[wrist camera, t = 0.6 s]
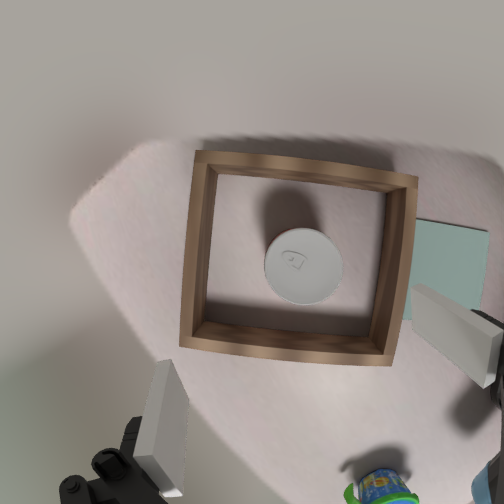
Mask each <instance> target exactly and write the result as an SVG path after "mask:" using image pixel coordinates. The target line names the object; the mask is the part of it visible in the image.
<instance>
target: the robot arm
mask: <svg viewBox="0 0 504 504" xmlns="http://www.w3.org/2000/svg"><path fill="white" fill-rule="evenodd" d="M410 291H411V309H412V330H413V331H414V332H415V333H417V334H418V335H419V336H420V337H422V338H423V339H424V340H425V341H427V342H428V343H429V344H430V345H431V346H433V347H434V348H435V349H436V350H438V351H439V352H440V353H441V354H442V355H444V356H445V357H446V358H447V359H448V360H450V361H451V362H452V363H453V364H454V365H456V366H457V367H458V368H459V369H460V370H462V371H463V372H464V373H465V374H466V375H467V376H469V377H470V378H471V379H472V380H473V381H475V382H476V383H477V384H478V385H479V386H480V387H482V388H483V389H484V388H486V387H487V386H489V385H490V384H491V398H492V401H493V403H494V404H495V405H496V406H497V407H498V408H499V409H500V410H502V429H501V451H500V452H499V453H498V454H497V455H496V456H495V457H494V458H493V459H492V460H490V461H489V462H488V463H487V465H486V466H485V467H484V469H483V470H482V471H481V472H480V473H479V474H478V475H477V476H476V477H475V478H474V480H473V482H472V486H471V489H472V490H471V491H472V496H473V499H474V502H475V504H504V324H503V323H502V322H500V321H498V320H496V319H494V318H493V317H491V316H488V314H486V313H484V312H482V311H479V310H475V309H471V310H469V309H467V308H465V307H463V306H462V305H460V304H458V303H456V302H455V301H453V300H451V299H449V298H447V297H446V296H444V295H442V294H440V293H438V292H437V291H435V290H433V289H431V288H429V287H428V286H426V285H424V284H422V283H420V284H417V285H415V286H412V287H410ZM188 409H189V398H188V395H187V393H186V391H185V389H184V387H183V385H182V382H181V380H180V378H179V376H178V374H177V371H176V369H175V367H174V364H173V362H172V360H171V359H168V360H164V361H159V362H157V365H156V368H155V372H154V376H153V380H152V383H151V387H150V390H149V394H148V398H147V402H146V405H145V409H144V413H143V416H140V417H133V418H132V419H131V420H130V422H129V423H128V424H127V426H126V429H125V432H124V434H125V435H124V436H123V439H122V440H123V441H122V443H121V446H120V450H118V449H115V448H107V449H104V450H102V451H100V452H98V453H97V454H96V455H95V456H94V458H93V459H92V463H91V465H92V468H93V470H94V471H95V472H96V473H97V474H98V475H99V477H100V478H99V479H95V480H91V481H86V480H85V479H84V478H83V477H82V476H80V475H72V476H69V477H67V478H65V479H64V480H63V481H62V483H61V484H60V487H59V493H60V500H61V504H168V503H167V502H166V501H165V500H164V499H163V498H162V497H161V496H160V495H159V491H160V492H161V493H162V494H163V495H164V496H165V497H174V496H183V485H184V466H185V450H186V435H187V422H188Z"/></svg>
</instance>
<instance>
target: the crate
mask: <svg viewBox="0 0 504 504" xmlns="http://www.w3.org/2000/svg"><path fill="white" fill-rule="evenodd" d="M218 174H228V175H241V176H253V177H264V178H274V179H284V180H294V181H302V182H311V183H319V184H327V185H335V186H342V187H349V188H356V189H363V190H370V191H376V192H383V193H387V204H386V216H385V227H384V237H383V246H382V255H381V263H380V271H379V278H378V285H377V291H376V297H375V304H374V309H373V315H372V321H371V326H370V331H369V336H368V337H359V336H344V335H330V334H317V333H305V332H294V331H284V330H274V329H265V328H256V327H248V326H240V325H232V324H224V323H217V322H209V321H204V320H205V306H206V293H207V280H208V268H209V257H210V246H211V235H212V225H213V215H214V205H215V196H216V187H217V178H218ZM417 196H418V177H417V176H412V175H407V174H402V173H397V172H391V171H386V170H380V169H374V168H368V167H362V166H356V165H349V164H342V163H335V162H328V161H320V160H313V159H304V158H295V157H286V156H276V155H265V154H254V153H240V152H225V151H207V150H196V152H195V159H194V167H193V176H192V184H191V193H190V202H189V212H188V222H187V232H186V243H185V255H184V268H183V282H182V298H181V315H180V337H179V347H185V348H191V349H197V350H203V351H210V352H217V353H224V354H231V355H238V356H246V357H255V358H263V359H273V360H283V361H293V362H305V363H319V364H335V365H356V366H392V363H393V359H394V354H395V350H396V346H397V341H398V337H399V332H400V327H401V322H402V317H403V312H404V306H405V301H406V295H407V289H408V282H409V276H410V269H411V261H412V253H413V244H414V235H415V224H416V211H417Z"/></svg>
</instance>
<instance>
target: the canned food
mask: <svg viewBox="0 0 504 504" xmlns="http://www.w3.org/2000/svg"><path fill="white" fill-rule="evenodd" d="M264 271H265V276H266V278H267V281H268V283H269V285H270V286H271V288H272V289H273V291H274V292H275V293H276V294H277V295H278V296H279V297H281V298H282V299H284V300H285V301H287V302H290V303H292V304H296V305H305V306H308V305H314V304H317V303H320V302H322V301H324V300H326V299H327V298H329V297H330V296H331V295H332V294H333V293H334V292H335V291H336V289H337V288H338V286H339V284H340V282H341V280H342V275H343V260H342V256H341V254H340V251H339V249H338V248H337V246H336V245H335V243H334V242H333V241H332V240H331V239H330V238H329V237H328V236H326V235H325V234H323V233H321V232H319V231H317V230H314V229H310V228H293V229H288V230H285V231H283V232H281V233H279V234H278V235H277V236H276V237H275V238H274V239H273V240H272V242H271V243H270V245H269V247H268V249H267V251H266V255H265V259H264Z"/></svg>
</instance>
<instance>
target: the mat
mask: <svg viewBox="0 0 504 504" xmlns="http://www.w3.org/2000/svg"><path fill="white" fill-rule="evenodd" d="M489 235H490V233H489V232H484V231H479V230H474V229H469V228H463V227H458V226H452V225H447V224H441V223H435V222H429V221H423V220H417V219H416V224H415V235H414V244H413V253H412V261H411V269H410V276H409V282H408V289H407V295H406V301H405V306H404V312H403V317H402V320H412V309H411V291H410V287H412V286H415V285H417V284H420V283H422V284H424V285H426V286H428V287H429V288H431V289H433V290H435V291H437V292H438V293H440V294H442V295H444V296H446V297H447V298H449V299H451V300H453V301H455V302H456V303H458V304H460V305H462V306H463V307H465V308H467V309H469V310H471V309H475V310H479V307H480V301H481V296H482V290H483V284H484V278H485V271H486V263H487V255H488V246H489Z"/></svg>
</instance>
